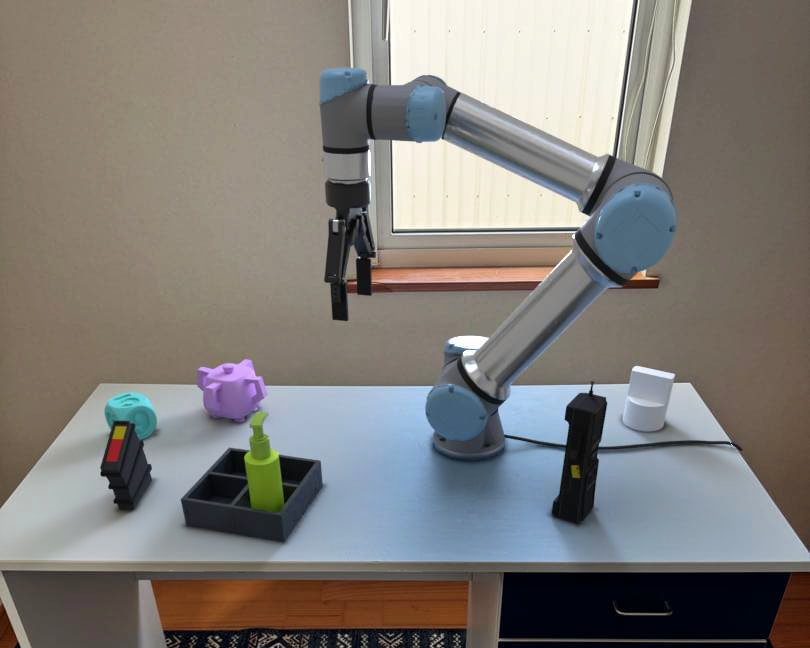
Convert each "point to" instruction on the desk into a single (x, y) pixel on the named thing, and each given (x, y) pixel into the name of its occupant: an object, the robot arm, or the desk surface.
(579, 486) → the portable radio
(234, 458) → the rack
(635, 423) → the cylinder with rectangular tab
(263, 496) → the soap dispenser
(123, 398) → the decorative dice
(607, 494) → the desk surface
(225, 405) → the pot
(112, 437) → the black ridged block
